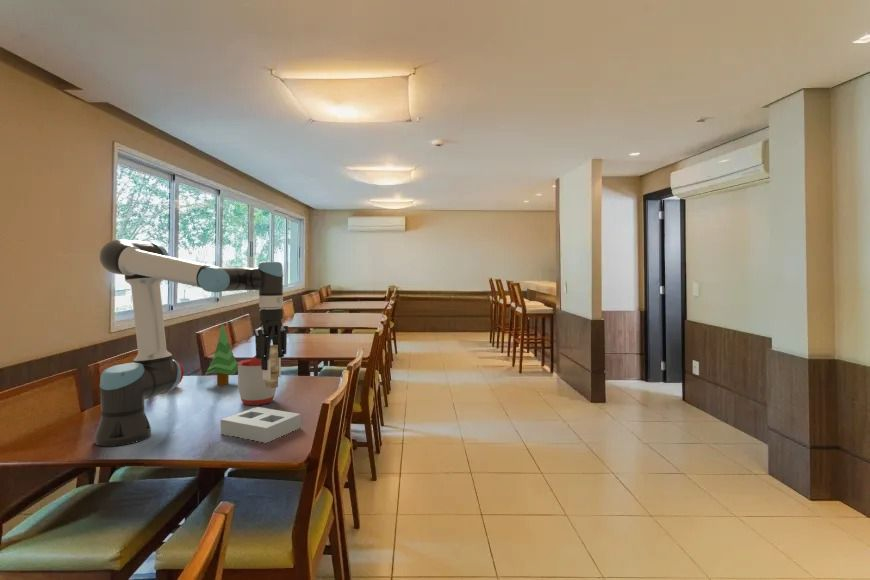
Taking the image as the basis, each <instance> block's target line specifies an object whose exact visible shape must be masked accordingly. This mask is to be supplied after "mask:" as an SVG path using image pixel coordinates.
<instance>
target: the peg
mask: <svg viewBox="0 0 870 580" xmlns="http://www.w3.org/2000/svg"><path fill="white" fill-rule="evenodd" d="M268 360H270V366H271V380H266V388H276V389H277V388H278V387H279V377H278V345H276V344H273V343H272V344H270V351H269V359H268Z"/></svg>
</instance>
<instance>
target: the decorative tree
mask: <svg viewBox="0 0 870 580" xmlns="http://www.w3.org/2000/svg"><path fill="white" fill-rule="evenodd" d="M216 344H217V345H216V348H215V351H214V354H213V356H212V359H211V362H210V364H209V367H208V368H207V370H206V372H205V374H204V375H205V376H208V375H210V374H212V373H216V385H217V386H219V387H224V386H225V385H226V386H228V385H229V383H230V382H229V378H230V377H229V376H234V375H235V374H236V373H237V372H238V364H237V363H238V362H239V361H237V360H236V356H234V353H233V351H232V349H231V346H230V343H229V338H228V335H227V332H226V330H225V327H224V323H223V322H221V326H220V330H219V335H218V338H217V343H216Z"/></svg>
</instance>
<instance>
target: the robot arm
mask: <svg viewBox="0 0 870 580" xmlns="http://www.w3.org/2000/svg"><path fill="white" fill-rule="evenodd" d="M99 262H100V263H101V266H102V267H103V268H104V269H105V270H106V271H108V272H110V273H112V274H116V275H124V280H125V282H126V283H127V284H129V285H130V287H131V299H132V306H133V317H134V326H135V336H136V337H135V338H136V346H137V355H136V356H135V358H133V362H126V363H123V364H116V365H112V366H110V367H107V368H105V369H104V370H103V371H102V372H101V374H100V382H99V388H100V390H99V391H100V393H99V394H100V396H99V397H100V419H99V422H98V425H97V428H96V432H95V434H94V444H95V443H96V444H98V445H103V446H102V447H107V446H108V447H114V446H113V445H121V446H124V445H123V444H127V445H129V444H128V443H131V444H133V443H132V442H135V443H137V442H136V441H138V442H141V441H143V439H144V440H146V439H147V437H148V438H149V437H150V436H151V435H152V427H151V425H150V422H149V419H148V417H147V414H146V411H145V400H148V399H151V398H153V397H156V396H159V395H164V394H166V393H168V392H170V391H172V390H174V389H175V388H176V387H178V385H179V384H180V383H179V381H180V379H181V368H180V365H179V364H177V362H178V361H177V360H175V359H173V354H172V353H171V352H169V351H168V350H167V340H166V332H165V321H164V312H163V303H162V293H161V282H162V281H168V282H173V283H178V284H182V285H187V286H192V287H196V288H201V289H202V290H203V291H206V292H209V293H210V292H211V293H220V292H232V291H234V292H236V291H237V292H239V291H258V307H259V308H260V309H259V310H258V312H259V313H258V314H259V315H258V317H259V320H260V325H259V326H260V327H258V328H255V329H253V333H254V339H255V340H254V341H255V356H256V358H257V359H259V360H261V365H262V366H261V369H262V370H263V379H264V380H271V366H270V360H268V359H269V351H270V344H271V342H272V344H276V345H278V378H281V376H282V361H283V359H282V358H284V357H285V355H286V354H287V345H288V344H287V337H288V336H287V335H288V334H287V333H288V329H289V326H288V325H284V324H283V323H282V320H283V319H284V309H283V306H284V293H283V290H284V287H283V286H284V285H283V284H284V279H283V278H284V271H283V264H282V263H281V262H279V261H260V262H259V263H258V267H237V266H236V267H227V266H226V267H223V266H216V265H212V264H206V263H201V262H197V261H191V260H187V259H183V258H179V257H173V256H170V255H169V253H168V251H167V249H166V248H164V247H163V245H161V244H159V243H156V242H152V241H147V240H133V239H131V240H130V239H121V238H120V239H113V240H110V241H109V242H107V243H105V244H104V245H103V246H102V248H101V250H100V251H99ZM178 383H179V384H178ZM145 438H146V439H145ZM140 440H141V441H140ZM96 444H95V445H96ZM98 445H97V446H98Z"/></svg>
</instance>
